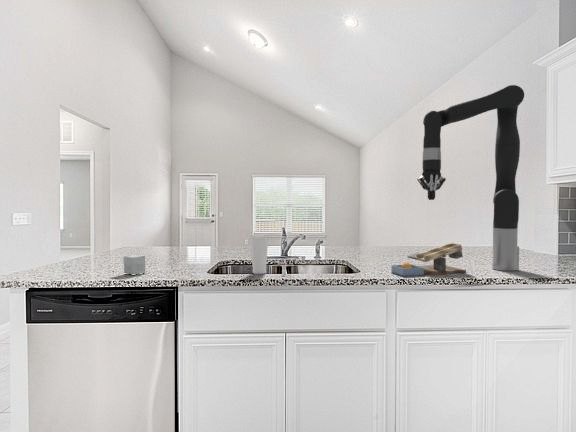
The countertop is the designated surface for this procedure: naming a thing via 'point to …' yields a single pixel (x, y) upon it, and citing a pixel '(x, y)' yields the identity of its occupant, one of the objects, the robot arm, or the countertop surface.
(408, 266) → the ball
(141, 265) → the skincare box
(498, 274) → the countertop surface
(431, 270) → the lever stand
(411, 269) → the tray
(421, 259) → the lever
